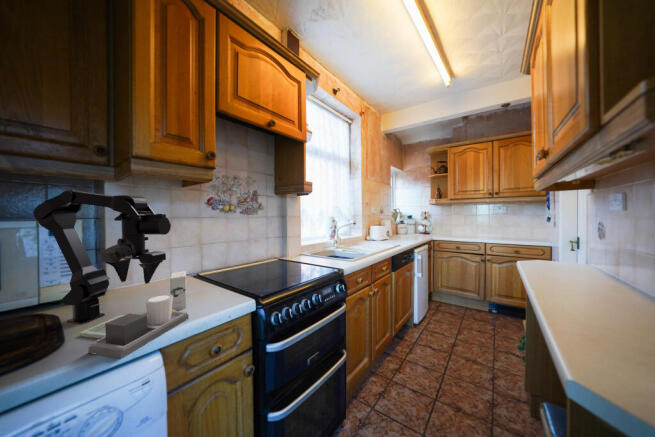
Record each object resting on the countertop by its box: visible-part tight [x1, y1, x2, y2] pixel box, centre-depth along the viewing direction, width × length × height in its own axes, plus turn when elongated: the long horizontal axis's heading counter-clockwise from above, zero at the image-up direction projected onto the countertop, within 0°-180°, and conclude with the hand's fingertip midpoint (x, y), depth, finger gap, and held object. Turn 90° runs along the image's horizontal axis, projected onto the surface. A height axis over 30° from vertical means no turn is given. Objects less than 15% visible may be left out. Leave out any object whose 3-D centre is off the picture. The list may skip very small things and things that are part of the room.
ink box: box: [169, 270, 187, 311], centre depth 87 cm, size 9×5×12 cm, turn 31°
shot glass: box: [145, 294, 173, 325], centre depth 72 cm, size 7×7×7 cm
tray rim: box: [79, 314, 125, 339], centre depth 71 cm, size 11×11×1 cm
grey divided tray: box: [87, 310, 189, 359], centre depth 68 cm, size 10×21×6 cm, turn 169°
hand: (135, 282), depth 76 cm, fingers open, 9 cm apart
